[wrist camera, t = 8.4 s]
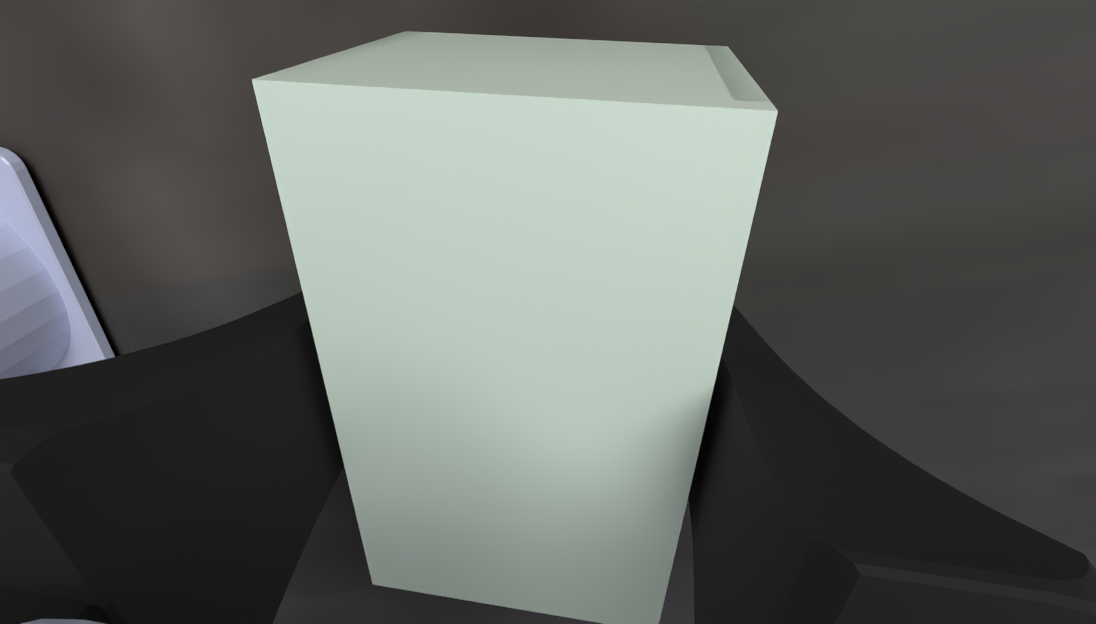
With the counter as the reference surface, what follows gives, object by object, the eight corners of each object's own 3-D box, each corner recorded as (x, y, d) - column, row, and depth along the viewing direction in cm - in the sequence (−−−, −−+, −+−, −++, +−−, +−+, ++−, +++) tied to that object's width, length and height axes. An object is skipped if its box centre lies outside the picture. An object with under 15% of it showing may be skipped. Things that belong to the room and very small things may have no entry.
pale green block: (444, 423, 16) (372, 584, 12) (405, 31, 11) (251, 79, 7) (656, 451, 15) (656, 632, 11) (727, 46, 10) (777, 111, 6)
